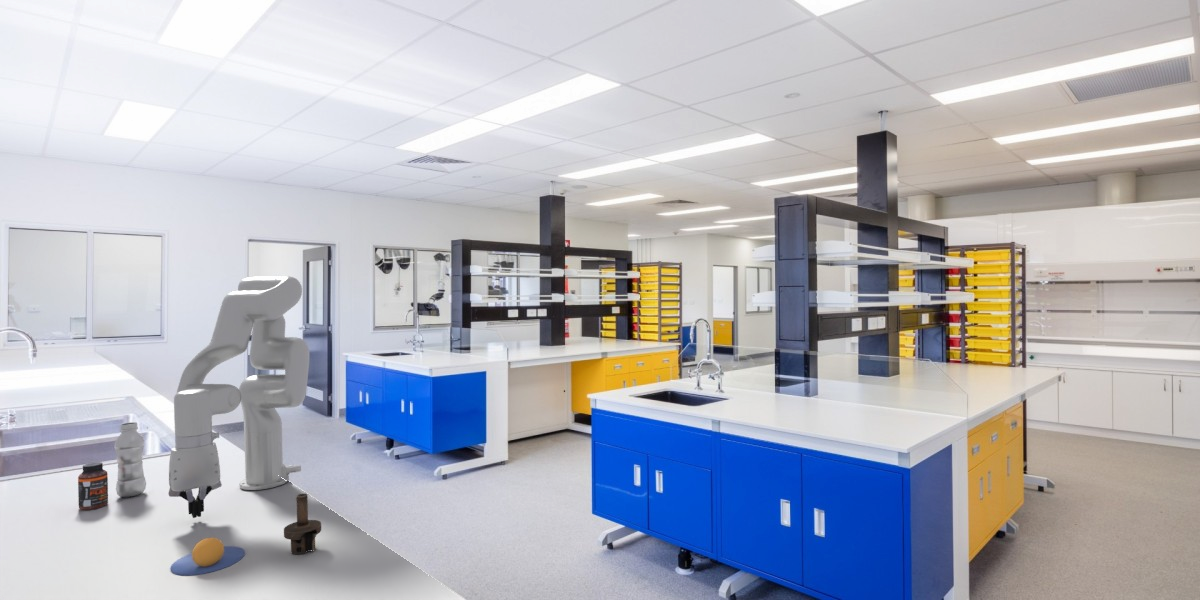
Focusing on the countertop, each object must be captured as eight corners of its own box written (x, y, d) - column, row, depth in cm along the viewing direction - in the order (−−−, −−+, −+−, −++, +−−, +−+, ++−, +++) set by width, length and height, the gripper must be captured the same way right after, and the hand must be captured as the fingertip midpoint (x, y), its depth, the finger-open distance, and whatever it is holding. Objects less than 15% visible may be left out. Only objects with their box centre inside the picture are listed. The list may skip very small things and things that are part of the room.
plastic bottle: (152, 492, 169) (149, 421, 168) (126, 501, 162) (123, 427, 162) (136, 490, 171) (133, 420, 170) (110, 498, 164) (107, 425, 164)
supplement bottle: (91, 511, 155) (89, 468, 155) (72, 510, 156) (71, 466, 156) (114, 503, 161) (112, 461, 160) (96, 502, 162) (94, 460, 162)
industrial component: (327, 550, 130) (326, 495, 130) (291, 561, 125) (290, 504, 125) (311, 537, 137) (310, 485, 136) (276, 548, 132) (275, 493, 131)
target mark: (238, 541, 135) (238, 540, 135) (250, 561, 125) (250, 560, 125) (167, 559, 127) (167, 558, 127) (174, 582, 117) (174, 581, 117)
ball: (224, 567, 125) (221, 544, 128) (226, 552, 122) (223, 529, 126) (192, 575, 121) (189, 551, 125) (194, 559, 119) (191, 535, 122)
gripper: (227, 432, 154) (229, 504, 155) (154, 443, 145) (157, 519, 145) (232, 438, 149) (234, 512, 149) (157, 449, 139) (159, 528, 139)
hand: (196, 515), depth 147 cm, fingers closed
